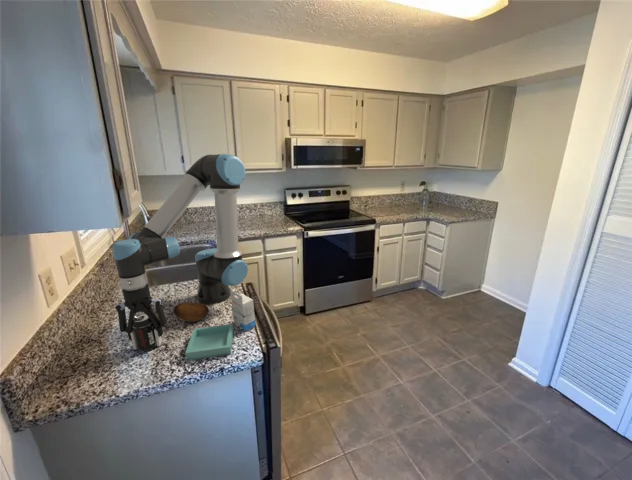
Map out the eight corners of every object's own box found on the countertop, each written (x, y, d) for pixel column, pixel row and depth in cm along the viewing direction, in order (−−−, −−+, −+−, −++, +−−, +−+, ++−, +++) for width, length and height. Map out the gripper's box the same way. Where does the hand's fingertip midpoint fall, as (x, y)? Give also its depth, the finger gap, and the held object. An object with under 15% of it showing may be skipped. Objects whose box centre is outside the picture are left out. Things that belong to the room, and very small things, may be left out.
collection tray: (195, 335, 108) (193, 328, 108) (233, 330, 111) (232, 323, 110) (186, 360, 95) (185, 353, 94) (230, 354, 98) (229, 346, 97)
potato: (207, 322, 122) (207, 321, 115) (172, 321, 118) (170, 320, 111) (209, 304, 125) (210, 302, 118) (175, 303, 120) (173, 300, 113)
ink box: (256, 326, 113) (253, 292, 109) (245, 332, 110) (241, 297, 106) (244, 318, 119) (240, 285, 115) (233, 323, 116) (229, 290, 111)
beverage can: (133, 353, 99) (126, 322, 96) (143, 341, 106) (136, 312, 102) (154, 352, 100) (147, 321, 96) (162, 339, 106) (156, 310, 103)
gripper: (96, 294, 91) (112, 356, 97) (163, 287, 94) (175, 347, 101) (107, 284, 98) (122, 342, 104) (170, 278, 101) (180, 335, 108)
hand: (148, 345), depth 103 cm, fingers closed on beverage can, 7 cm apart
